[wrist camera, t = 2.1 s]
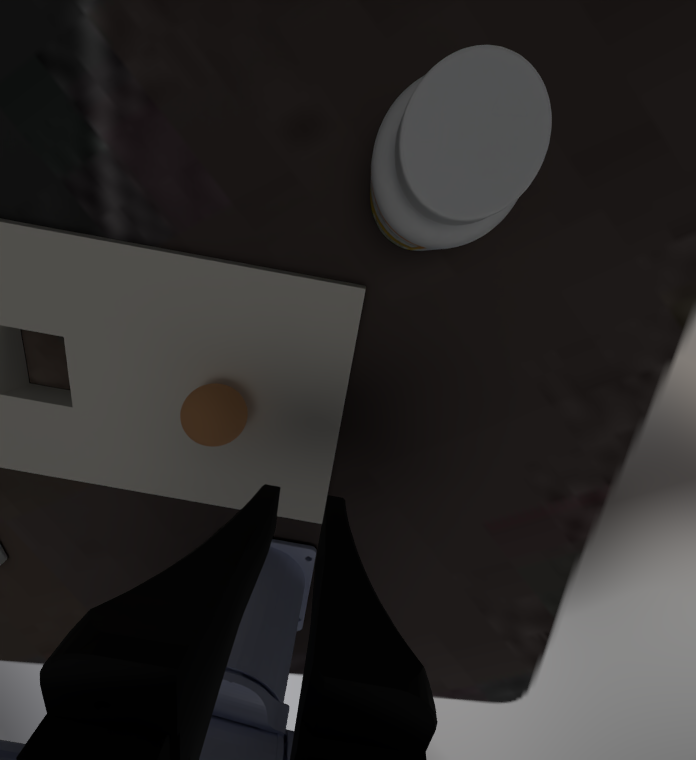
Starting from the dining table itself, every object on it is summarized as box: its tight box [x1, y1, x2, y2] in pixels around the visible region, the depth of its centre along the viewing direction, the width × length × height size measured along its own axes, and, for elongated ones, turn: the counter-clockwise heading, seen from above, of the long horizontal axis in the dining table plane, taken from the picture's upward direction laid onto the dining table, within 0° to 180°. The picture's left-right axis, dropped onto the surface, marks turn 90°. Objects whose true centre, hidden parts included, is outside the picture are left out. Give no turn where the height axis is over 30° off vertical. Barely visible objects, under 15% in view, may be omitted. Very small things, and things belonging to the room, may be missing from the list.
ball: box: [180, 383, 248, 447], centre depth 19 cm, size 4×4×4 cm
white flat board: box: [0, 218, 366, 524], centre depth 21 cm, size 26×16×2 cm, turn 80°
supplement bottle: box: [370, 45, 552, 251], centre depth 13 cm, size 5×5×10 cm
